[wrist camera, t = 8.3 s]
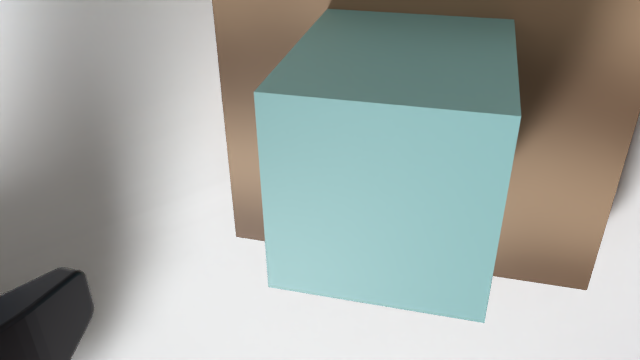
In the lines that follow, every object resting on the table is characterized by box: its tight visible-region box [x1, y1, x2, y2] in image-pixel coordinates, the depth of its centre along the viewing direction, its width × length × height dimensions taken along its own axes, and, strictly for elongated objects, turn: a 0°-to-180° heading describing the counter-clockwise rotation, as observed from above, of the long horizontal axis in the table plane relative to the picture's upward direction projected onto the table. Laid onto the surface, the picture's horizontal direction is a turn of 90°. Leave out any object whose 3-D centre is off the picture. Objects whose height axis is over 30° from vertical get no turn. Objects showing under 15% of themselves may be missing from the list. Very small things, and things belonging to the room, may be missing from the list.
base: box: [212, 0, 640, 290], centre depth 18 cm, size 12×12×2 cm
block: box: [254, 9, 521, 323], centre depth 15 cm, size 5×5×6 cm
